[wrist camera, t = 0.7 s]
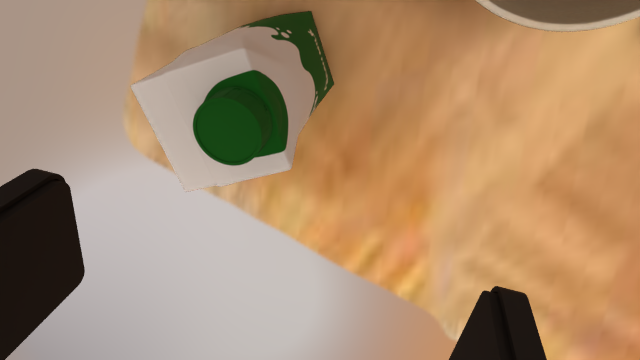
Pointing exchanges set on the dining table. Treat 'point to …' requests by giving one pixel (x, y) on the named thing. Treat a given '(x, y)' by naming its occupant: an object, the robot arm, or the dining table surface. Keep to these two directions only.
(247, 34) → the milk carton
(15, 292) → the robot arm
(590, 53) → the dining table surface
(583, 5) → the plant pot
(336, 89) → the dining table surface
